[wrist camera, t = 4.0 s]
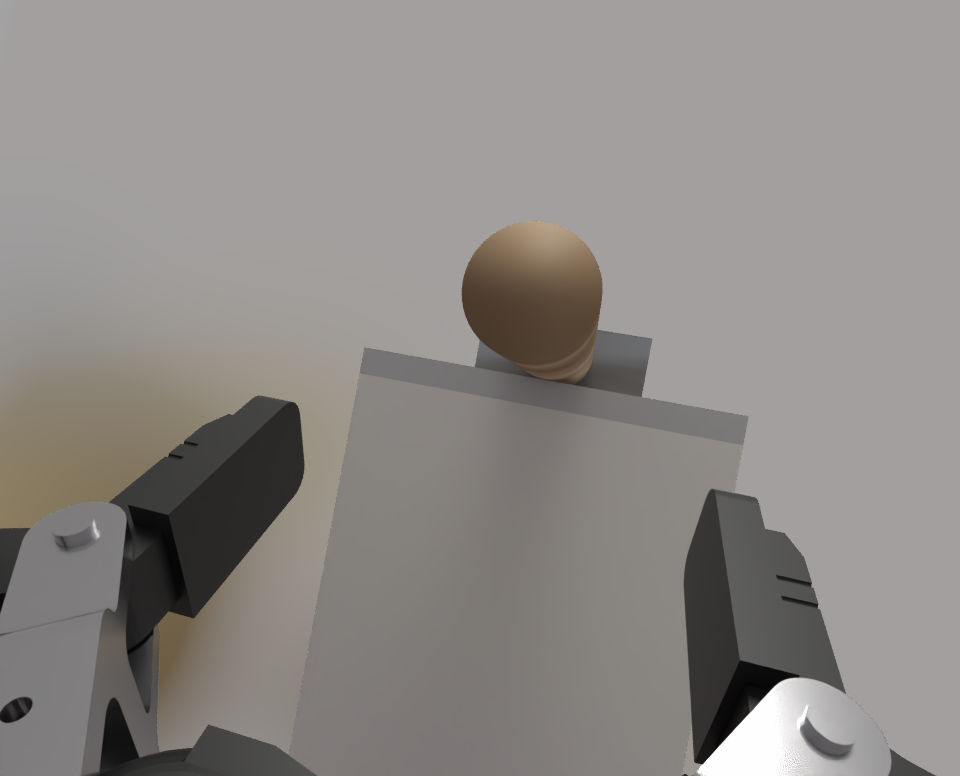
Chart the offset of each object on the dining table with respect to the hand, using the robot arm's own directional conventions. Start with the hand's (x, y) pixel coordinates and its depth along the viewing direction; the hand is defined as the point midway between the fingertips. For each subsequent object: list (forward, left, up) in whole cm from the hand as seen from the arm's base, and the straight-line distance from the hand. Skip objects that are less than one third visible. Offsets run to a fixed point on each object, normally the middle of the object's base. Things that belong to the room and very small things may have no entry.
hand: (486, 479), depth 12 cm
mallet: (0, +12, +2) cm, 12 cm away
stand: (0, +16, -30) cm, 34 cm away
